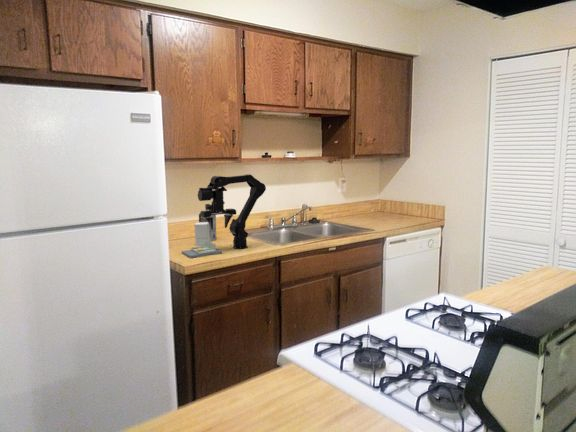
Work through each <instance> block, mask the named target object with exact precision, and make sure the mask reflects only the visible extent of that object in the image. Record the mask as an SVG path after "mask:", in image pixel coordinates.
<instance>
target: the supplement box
mask: <svg viewBox="0 0 576 432" xmlns="http://www.w3.org/2000/svg"><path fill="white" fill-rule="evenodd" d="M194 239H195V246H198V247H200V246H204V240H207V241H209V242H211V241H210V236H209V222H199V221H198V222H195V223H194Z"/></svg>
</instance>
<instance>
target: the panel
mask: <svg viewBox="0 0 576 432" xmlns="http://www.w3.org/2000/svg"><path fill="white" fill-rule="evenodd" d="M198 248H203V251H201V252H199V251H197V249H194V248H192V247H190V250H192V251H194V252H196V253H198V254H203V253H209V252H216V249H217V248H216V243H214V242H212V241H210V242H209V241H207V240H204V246H198Z"/></svg>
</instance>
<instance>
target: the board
mask: <svg viewBox="0 0 576 432" xmlns="http://www.w3.org/2000/svg"><path fill="white" fill-rule="evenodd" d="M198 247H199V246H196V245H191V248H194V249H197V251H199V252H201V251H203V248H198ZM220 254H223V250H220V249H219V248H216V252H209V253H203V254H198V253H196V252H194V251H192V250H191V249H189V250H188V249H187V250H181V255H184V256H186V257H187V258H188V259H193V258H194V259H195V258H201V257H207V256H213V255H214V256H215V255H220Z"/></svg>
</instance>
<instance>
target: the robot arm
mask: <svg viewBox="0 0 576 432" xmlns="http://www.w3.org/2000/svg"><path fill="white" fill-rule="evenodd" d="M238 183H239V184H240V183H247V185H248V186H249V188H250V189H249V196H248V198H247V200H246V201H245V204H244V206H243V207H242V209H241V211H240V213H239V215H238V217H237V218H232V217H234V215H237V210H236V209H235V208H225V207H224V206H225V201H224V192H227V191H228V189H226V188H225V187H226V186H228V185H231V184H238ZM266 189H267V188H266V185H265V183H263V182H261V181H259V180H258V179H257V178H255V177H254V176H253V175H252V174H249V173H248V174H247V173H246V174H241V175H232V176H221V175H213V176H212V177H211V178H210V182H209V183H208V185H207V186H206V187H199V188H198V192H197V198H198V201H200V202H206V201H207V202H208V201H211V200H212V201H211V204H210V203H206V204H205V205H204V208H205V210H201V211H200V212H199V214H200V216H201V217H204V218H206V219H207V220H208V222H209V225H210V227H211V229H212V230H213V217H211V215H216V216H217V215H223V217H224V228H225V229H227V227H228V225H229V229H228V230H229V232H230V233H231V234H232V237H233V239H232V240H233V241H232V243H233V245H232V248H234V249H237V250H240V249H247V248H249V246H248V244H247V243H248V242H247V238H248V236H249V232H247V231H246V230H245V228H246V224H247V223H246V222H247V220H248V218H249V216H250V214H251V212H252V211H253V209H254V207H255V205H256V203H257V201H258V199H260V197H261V196H263V195H264V193H265V191H266ZM230 220H231V222H230ZM229 222H230V224H229Z"/></svg>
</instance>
